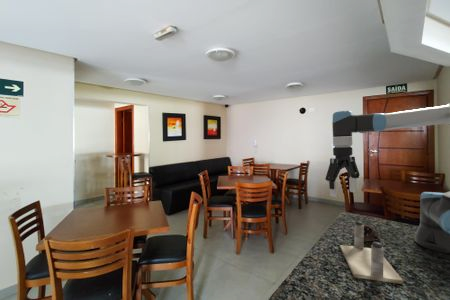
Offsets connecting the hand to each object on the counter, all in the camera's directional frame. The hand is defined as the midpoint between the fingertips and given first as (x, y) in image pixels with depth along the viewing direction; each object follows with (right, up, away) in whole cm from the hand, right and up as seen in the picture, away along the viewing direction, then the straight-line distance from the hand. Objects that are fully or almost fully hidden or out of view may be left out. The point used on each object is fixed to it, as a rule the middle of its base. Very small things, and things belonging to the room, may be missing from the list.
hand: (343, 194), depth 97 cm
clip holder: (+1, -23, -15) cm, 27 cm away
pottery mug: (+13, -23, +4) cm, 26 cm away
